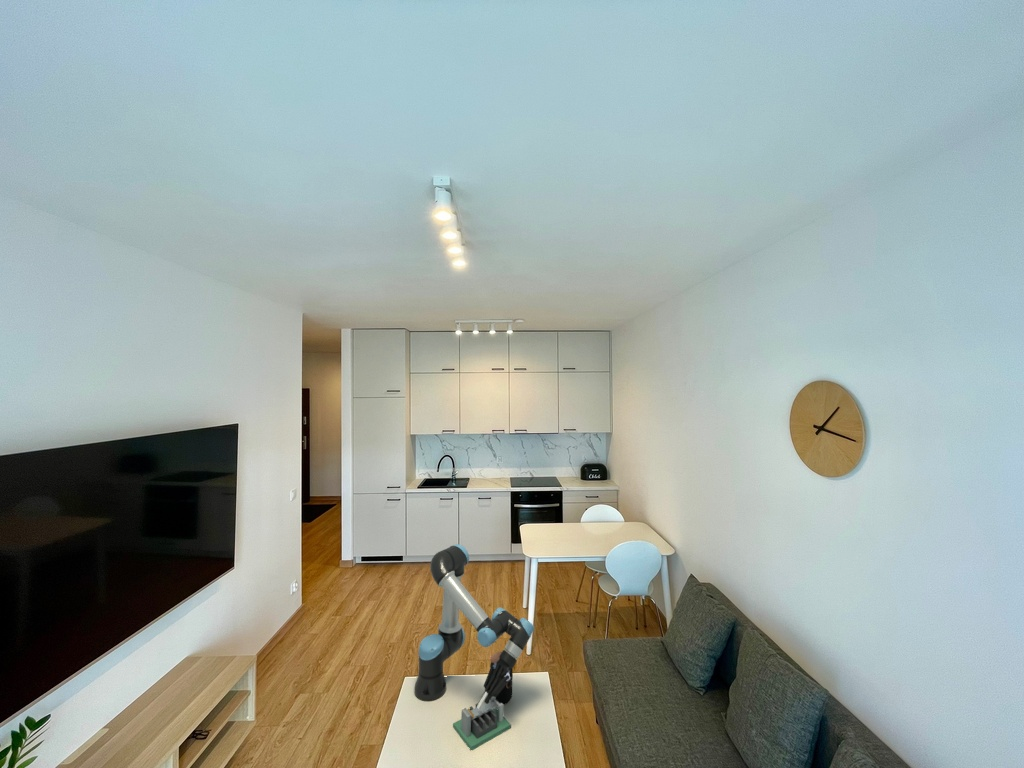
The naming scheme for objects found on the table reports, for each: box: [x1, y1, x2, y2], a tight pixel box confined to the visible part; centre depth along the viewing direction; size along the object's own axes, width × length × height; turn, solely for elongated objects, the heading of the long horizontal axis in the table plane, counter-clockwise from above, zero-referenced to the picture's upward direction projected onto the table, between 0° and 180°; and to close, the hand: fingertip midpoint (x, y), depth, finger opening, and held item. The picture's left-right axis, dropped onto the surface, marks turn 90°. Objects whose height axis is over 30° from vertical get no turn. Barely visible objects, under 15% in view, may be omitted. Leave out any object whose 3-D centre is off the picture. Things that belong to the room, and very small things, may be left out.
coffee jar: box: [489, 651, 514, 705], centre depth 195 cm, size 11×11×18 cm
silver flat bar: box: [466, 699, 500, 720], centre depth 177 cm, size 4×15×2 cm, turn 127°
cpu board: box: [452, 697, 512, 751], centre depth 176 cm, size 15×20×10 cm
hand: (479, 709), depth 174 cm, fingers closed
